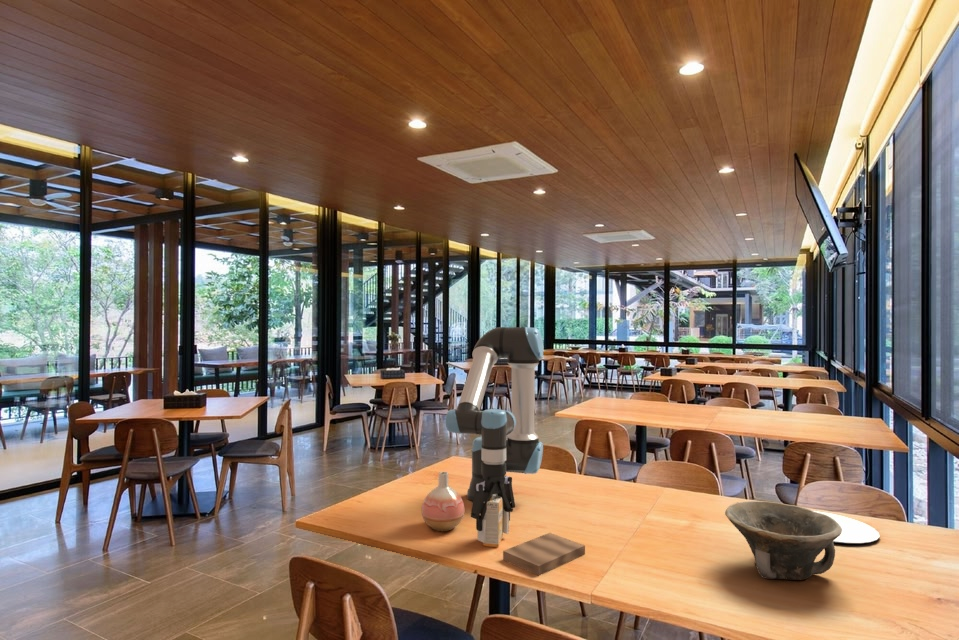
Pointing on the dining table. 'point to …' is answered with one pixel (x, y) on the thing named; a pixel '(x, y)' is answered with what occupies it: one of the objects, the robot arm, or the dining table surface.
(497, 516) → the supplement box
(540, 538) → the walnut board
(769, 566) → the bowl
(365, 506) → the dining table surface
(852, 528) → the plate
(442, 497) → the vase
